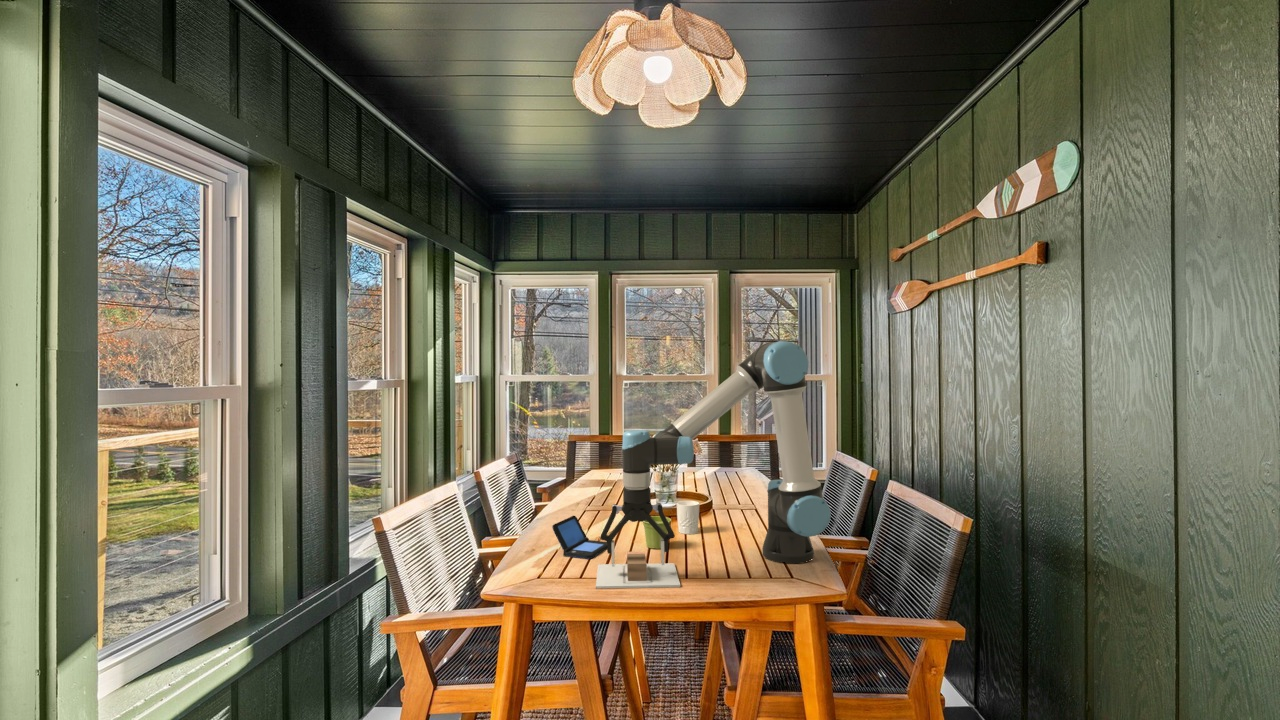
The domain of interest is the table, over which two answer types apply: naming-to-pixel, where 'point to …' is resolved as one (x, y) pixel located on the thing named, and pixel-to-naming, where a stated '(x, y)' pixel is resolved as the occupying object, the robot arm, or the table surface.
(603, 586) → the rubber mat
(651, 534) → the plant pot
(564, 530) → the handheld game console
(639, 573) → the walnut block
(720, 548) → the table surface
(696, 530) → the white cup
